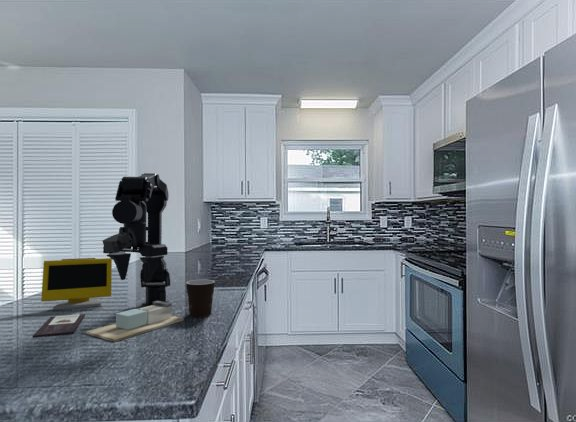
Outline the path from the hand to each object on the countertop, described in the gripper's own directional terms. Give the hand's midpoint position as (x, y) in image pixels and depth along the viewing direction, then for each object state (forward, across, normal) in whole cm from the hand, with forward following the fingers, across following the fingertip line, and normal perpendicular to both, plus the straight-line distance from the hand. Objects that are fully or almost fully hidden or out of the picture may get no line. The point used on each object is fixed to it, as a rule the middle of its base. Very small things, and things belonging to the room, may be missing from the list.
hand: (134, 281), depth 102 cm
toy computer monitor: (+13, -37, +8) cm, 40 cm away
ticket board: (+13, -1, +2) cm, 13 cm away
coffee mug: (+13, +6, +21) cm, 25 cm away
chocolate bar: (+13, -20, -8) cm, 25 cm away
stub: (+13, -1, 0) cm, 13 cm away
